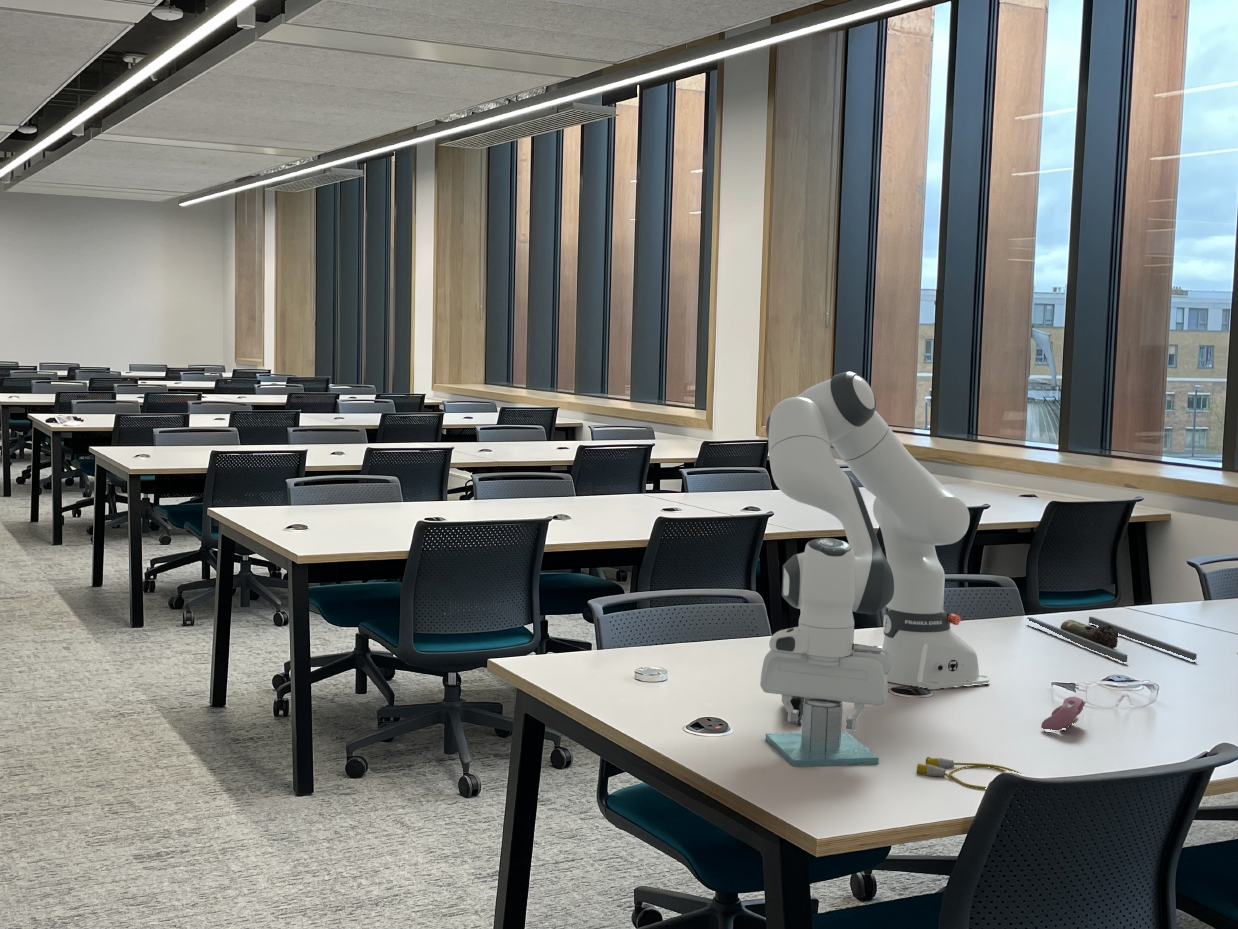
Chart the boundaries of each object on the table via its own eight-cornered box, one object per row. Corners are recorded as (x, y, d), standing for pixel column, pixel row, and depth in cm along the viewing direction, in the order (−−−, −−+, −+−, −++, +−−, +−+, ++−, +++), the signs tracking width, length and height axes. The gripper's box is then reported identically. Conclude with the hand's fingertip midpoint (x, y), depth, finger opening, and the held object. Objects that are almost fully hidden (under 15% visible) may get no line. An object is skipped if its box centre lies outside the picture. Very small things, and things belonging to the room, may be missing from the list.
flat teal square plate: (844, 737, 209) (846, 699, 208) (878, 763, 195) (880, 723, 194) (765, 739, 206) (767, 701, 205) (793, 766, 192) (795, 725, 192)
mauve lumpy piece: (1061, 744, 214) (1082, 712, 212) (1037, 728, 216) (1058, 696, 214) (1072, 731, 222) (1093, 700, 220) (1050, 716, 224) (1070, 685, 222)
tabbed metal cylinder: (810, 731, 208) (812, 687, 207) (845, 736, 206) (848, 691, 205) (799, 748, 198) (801, 701, 198) (836, 752, 197) (838, 706, 196)
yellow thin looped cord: (948, 758, 200) (949, 746, 200) (1040, 784, 189) (1041, 771, 189) (907, 774, 192) (908, 762, 192) (1001, 802, 181) (1002, 789, 181)
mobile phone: (784, 678, 229) (789, 697, 214) (801, 679, 228) (806, 698, 213) (783, 705, 229) (787, 726, 214) (800, 706, 229) (805, 727, 214)
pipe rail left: (1030, 625, 308) (1031, 617, 308) (1126, 664, 269) (1127, 655, 269) (1026, 625, 308) (1027, 617, 308) (1122, 664, 269) (1123, 655, 269)
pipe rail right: (1092, 624, 312) (1092, 616, 311) (1196, 662, 273) (1196, 654, 272) (1088, 624, 311) (1089, 616, 311) (1192, 663, 272) (1192, 654, 272)
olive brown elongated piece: (1058, 637, 296) (1060, 614, 295) (1084, 637, 297) (1085, 614, 297) (1101, 654, 278) (1103, 630, 278) (1128, 654, 280) (1130, 630, 279)
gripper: (893, 643, 199) (889, 728, 200) (768, 631, 205) (764, 712, 206) (889, 651, 193) (884, 738, 194) (759, 638, 199) (756, 722, 200)
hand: (821, 725), depth 200 cm, fingers open, 8 cm apart
